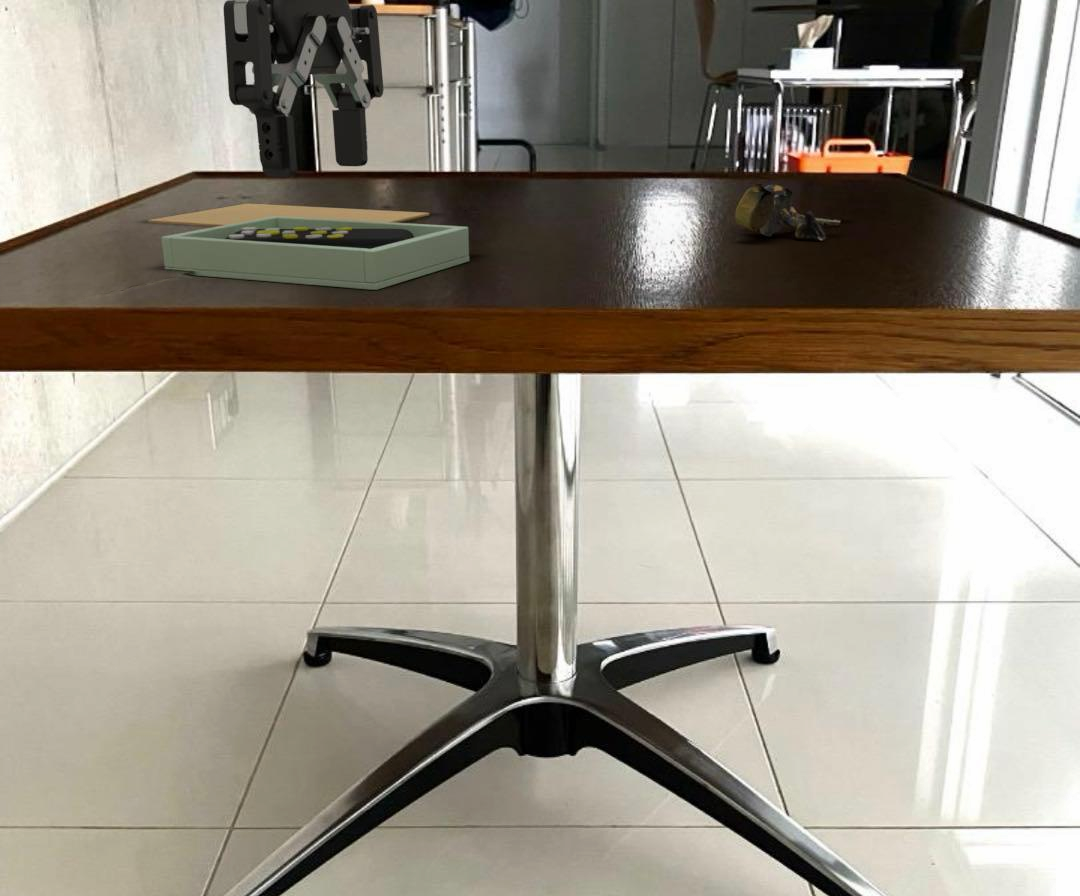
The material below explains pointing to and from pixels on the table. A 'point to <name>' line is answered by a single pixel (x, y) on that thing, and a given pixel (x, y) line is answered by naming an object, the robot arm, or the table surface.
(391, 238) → the remote control
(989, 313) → the table surface
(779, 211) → the regulator
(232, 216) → the mat
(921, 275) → the table surface
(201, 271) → the tray
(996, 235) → the table surface
